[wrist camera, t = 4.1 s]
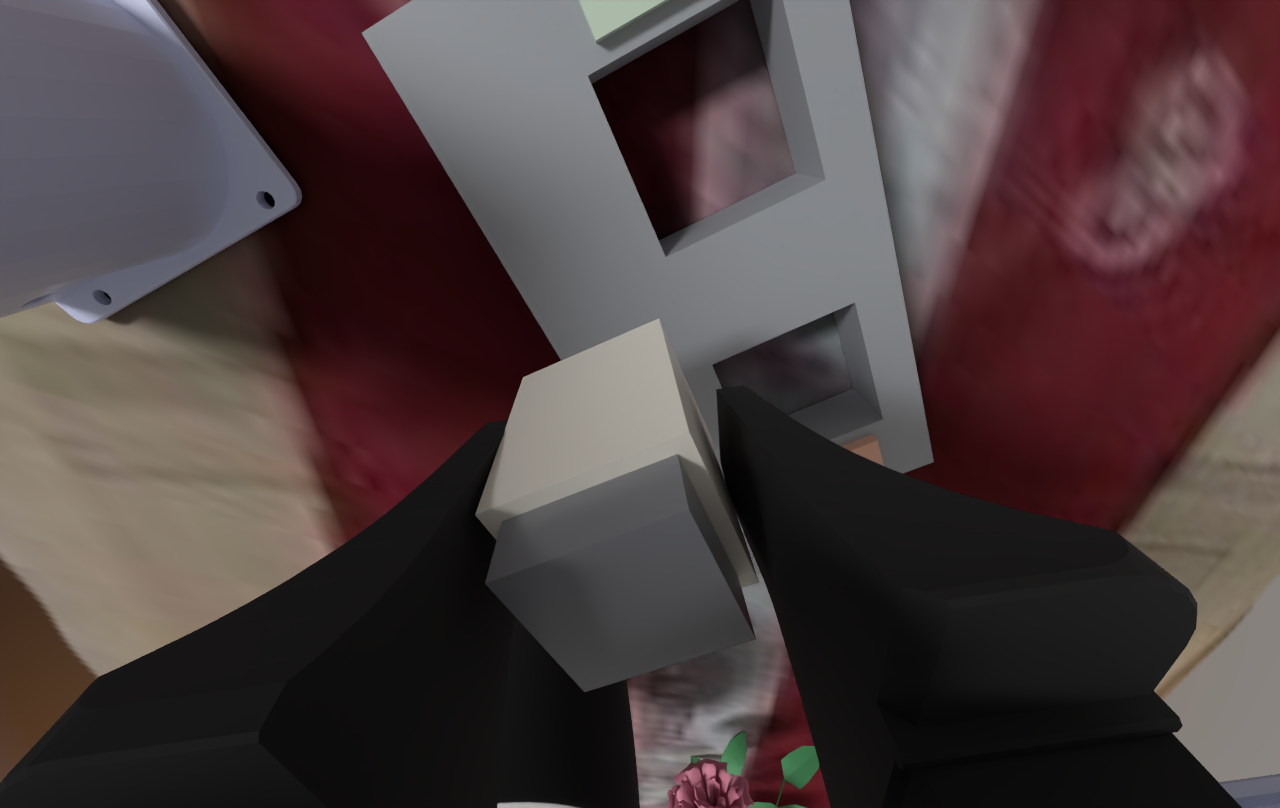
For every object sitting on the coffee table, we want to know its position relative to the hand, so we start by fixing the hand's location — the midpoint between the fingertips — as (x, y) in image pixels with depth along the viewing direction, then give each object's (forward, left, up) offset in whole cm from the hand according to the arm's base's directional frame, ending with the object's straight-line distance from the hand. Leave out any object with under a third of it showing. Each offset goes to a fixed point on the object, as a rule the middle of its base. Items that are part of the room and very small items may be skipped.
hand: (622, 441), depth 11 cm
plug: (0, 0, -2) cm, 2 cm away
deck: (+4, 0, -8) cm, 9 cm away
